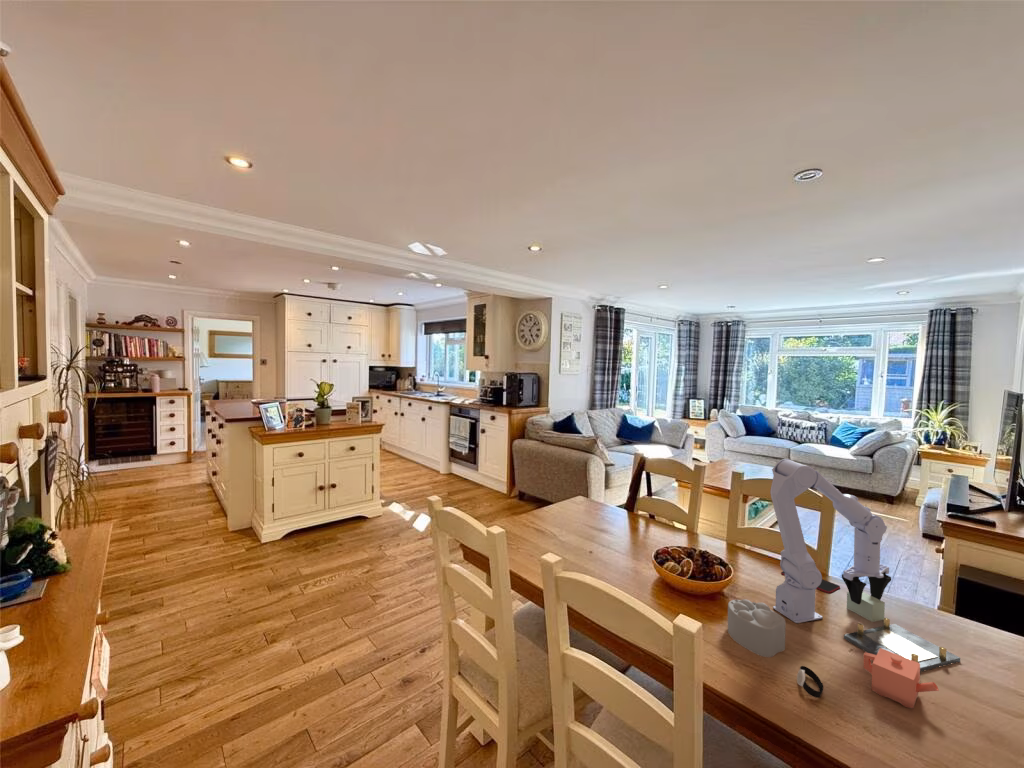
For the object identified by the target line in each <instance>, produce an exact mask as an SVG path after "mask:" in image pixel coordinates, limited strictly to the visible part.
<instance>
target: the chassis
mask: <svg viewBox="0 0 1024 768" xmlns="http://www.w3.org/2000/svg"><path fill="white" fill-rule="evenodd" d="M843 639H845V640H846V641H847V642H849V643H851V644H852V645H854V646H856V648H859V649H861V650H862V651H863V652H864V653H865V652H867V653H870V654H874V655H877V653H878V651H879V649H880V648H882V649H884V650H887V651H889V652H892V653H895V654H897V655H900V656H902V657H905V658H907V659H910V660H913V661H915V662H918V663H920V673H922V672H925V671H924V670H926V671H928V669H930V670H933V669H932V668H934V669H937V668H936V667H938V668H940V667H939V666H942V667H944V666H943V665H946V666H949V665H948V664H950V665H952V664H951V663H954V664H957V663H956V662H958V663H960V662H961V657H959V656H957V655H956V654H954V653H952V652H950V651H949V650H947V648H946V647H943V646H939V645H936V644H934V643H933V642H931V641H929V640H927V639H925V638H923V637H921V636H919V635H917V634H915V633H913V632H912V631H909V630H907V629H906V628H904V627H902V626H900V625H898V624H897V623H893V624H891V620H890V618H888V617H884V620H883V626H879V627H873V628H869V629H865V630H864V624H863V623H859V622H858V623H857V630H856V631H854V632H850V633H845V634H843ZM921 671H922V672H921Z"/></svg>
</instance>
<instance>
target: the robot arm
mask: <svg viewBox="0 0 1024 768" xmlns="http://www.w3.org/2000/svg"><path fill="white" fill-rule="evenodd" d="M771 470H772V475H773V477H772V480H771V481H772V482H771V487H770V498H771V501H772V507H773V509H774V512H775V513H774V514H775V517H776V520H777V521H776V522H777V524H778V529H779V532H780V536H781V541H782V544H783V548H784V549H782V550H781V551H780V563H779V564H780V565H779V567H780V568H781V571H782V572H783V571H784V572H785V576H784V578H785V579H784V581H783V583H780V584H778V585H777V586H776V588H775V605H772V609H774V610H775V611H777V613H778V612H779V613H780V615H781V614H782V615H783V616H784V617H786V618H788V619H789V620H790V621H792V622H793V623H795V624H800V623H801V624H802V623H805V622H810V621H811V622H812V621H816V620H822V619H823V615H822V614H819V613H818V612H816V590H818V589H817V587H818V586H819V585H820V584H821V582H822V579H823V576H822V573H821V571H820V570H819V568H817V566H816V562H815V560H814V559H813V558H812V556H811V554H810V553H809V551H808V549H807V546H806V542H805V537H804V533H803V530H802V526H801V522H800V518H799V514H798V510H797V507H796V502H795V499H796V498H797V497H798V496H800V495H802V494H803V493H804V492H806V491H807V490H809V489H811V488H813V489H816V490H817V491H818V492H819V493H821V494H822V495H823V496H825V497H826V498H828V499H829V501H831V502H832V507H833V509H835V511H837V512H838V513H839V514H840V515H841V516H843V517H844V518H845V519H846V520H847V521H848V522H849V525H850V526H851V527H854V533H853V535H854V538H853V539H854V540H853V543H854V544H853V565H851V566H850V567H849V568H847V569H846V570H843V573H842V574H841V579H842V580H843V583H844V584H845V587H847V590H848V591H847V592H849V594H850V598H851V601H853V602H855V603H857V604H860V603H861V599H862V592H864V590H865V587H866V586H867V583H865V582H863V581H862V580H861V579H860V578H864V577H867V578H868V581H869V593H870V596H873V597H875V598H877V599H879V600H881V599H882V597H883V594H884V591H885V590H886V587H887V586H888V585H889V583H891V582H892V576H890V575H889V574H890V573H889V572H890V567H889V566H887V565H884V564H882V563H881V542H882V541H883V536H884V535H885V533H886V532H887V530H888V525H886V523H885V521H884V520H883V518H882V517H880V516H878V515H876V514H873V513H872V509H871V508H870V507H867V506H865V505H863V504H862V503H861V502H860V501H859V497H857V496H855V495H853V494H849V493H842V492H841V491H840V490H839V489H838V488H837V487H835V485H833V484H832V483H831V482H830V481H829V480H827V478H826V477H824V476H823V474H821V473H820V472H819V471H818V470H815V469H814V468H813V466H810V465H806V464H803V463H800V462H796V461H794V460H792V459H790V458H783V459H780V460H779V461H778V462H777V463H776V464H775V465H774V466H773V467H772V469H771ZM881 601H882V600H881Z"/></svg>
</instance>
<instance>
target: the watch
mask: <svg viewBox="0 0 1024 768" xmlns="http://www.w3.org/2000/svg"><path fill="white" fill-rule="evenodd" d="M806 675H807V676H808V677H809V678H810V679H812V680H813V681H814V682H815V684H816V685H817V688H818V690H815V689H814V688H812V687H811V686H809V684H808V683H807V681H806ZM796 682H797V684H798V685H799V686H800V687H802V688H803V690H804V691H805V692H806V693H807V694H809V695H810V696H812V697H813V698H821V697H822V694H823V691H824V684H823V682H822V681H821V679H820V678H819V676H818V675H817V674H816V672H814V671H813V670H812V669H810V668H809V667H807V666H805V665H801V666H800V667H799V669H798V672H797V675H796Z"/></svg>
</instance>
